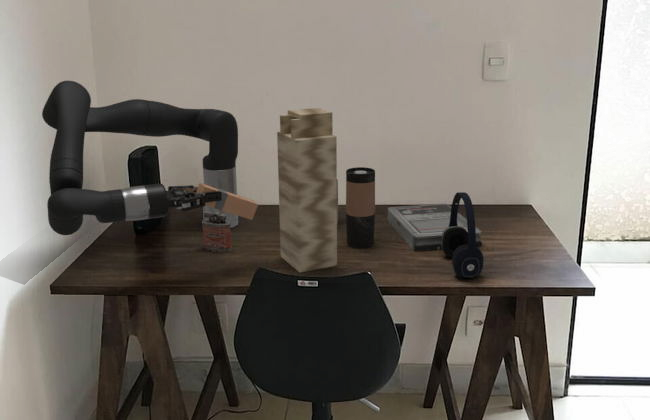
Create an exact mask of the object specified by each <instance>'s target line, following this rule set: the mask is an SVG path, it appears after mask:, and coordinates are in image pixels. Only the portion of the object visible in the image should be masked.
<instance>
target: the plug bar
mask: <svg viewBox="0 0 650 420" xmlns="http://www.w3.org/2000/svg"><path fill="white" fill-rule="evenodd" d="M197 187H198V188H197V191H196V193H202V192H204V193H205V192H214V191H220V192H221V194H222V200H221V201H215V202H207V203H206V204H205V205H206V206H209V207H212V208H215V209H219V210H222V211H225V212H228V213H231V214H234V215H238V217H241V218H245V219H248V220H251V221H253V219H254V217H255V213H256V211H257V209H258V207H259V204H258V203H257V202H256V201H254V200H253V199H250V198H247V197H243V196H240V195H238V194H237V195H235V194H232V193H229V192H226V191H224V190H222V189H219V188H216V187H215V188H214V187H211V186H208V185H205V184H204V183H201V182H199V184H198V186H197ZM197 201H200V199H198V200H197Z"/></svg>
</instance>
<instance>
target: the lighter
mask: <svg viewBox="0 0 650 420" xmlns="http://www.w3.org/2000/svg"><path fill="white" fill-rule="evenodd" d="M204 217H205V218H209V220H204V219H203V220H201V225H202V238H203V245H202V247H203V248H202V249H203V250H204V249H205V251H209V250H211V251H210V252H216V251H217V253H231V252H232V251H233V246H232V234H231V228H230V226H231V222H228V221H226V215H225V214H220V212H216V213H211V212H205V213H204ZM212 218H213V220H212Z"/></svg>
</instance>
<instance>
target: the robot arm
mask: <svg viewBox="0 0 650 420" xmlns="http://www.w3.org/2000/svg"><path fill="white" fill-rule="evenodd" d="M91 103H92V98H91V94H90V92H89V91H88V89H86V87H85V86H84V85H83V84H80V82H76V81H73V80H63V81H60V82H59V83H57V84H56V85H55V86H54V87H53V89H51V92H50V94H49V96H48V98H47V100H46V101H45V104H44V106H43V108H42V113H41V114H42V115H41V116H42V119H43V121H44V123H46V124H47V126H49V127H50V128H53V129H54V130H56V133H55V138H54V142H53V145H52V149H51V154H50V160H49V172H48V173H49V178H48V179H49V180H48V181H49V190H50V196H49V197H48V198H47V199H48V200H47V204H46V205H47V218H48V224H49V226H50V228H51V229H52V231H54V232H55V233H56V234H58V235H61V236H69V235H73V234H75V233H76V232H77V231H79V230H80V229H81V227H82V225H83V222H84V216H95V218H96V221H98V222H99V223H101V224H110V223H118V222H126V221H129V222H130V221H133V222H134V221H141V220H142V221H143V220H151V219H158V218H164V217H166V216H168V213H169V209H170V208H171V209H175V210H179V209H180V210H181V211H182V212H186V211H187V212H188V211H191V210H195V209H199V208H202V215H203V216H202V217H203V220H209V218H205V217H204V213H205V212H211V213H216V212H220V214H225V215H226V221H228V222H231V226H230V229H232V228H235V227H237V226H238V225H239V216H238V215H234V214H231V213H228V212H225V211H222V210H219V209H215V208H212V207H209V206H206V205H205V204H206V203H207V202H215V201H221V200H222V194H221V192H220V191H214V192H205V193H204V192H202V193H196V191H197V188H198V186H194V185H193V184H192V185H191V184H190V185H175V186H174V185H172V186H171V185H169V186H168V187H167V190H166V187H165V186H164V184H163V183H154V184H143V185H135V186H130V187H125V188H120V189H111V190H103V191H100V190H94V189H87V188H86V189H85V188H83V184H84V150H85V149H84V148H85V134H86V133H111V134H126V135H127V134H128V135H135V136H143V137H153V138H155V137H156V138H159V137H161V138H162V137H170V136H185V137H190V138H191V137H192V138H196V139H199V140H202V141H205V142H209V144H208V146H209V147H208V148H209V149H208V154H207V155H205V156H203V158H202V173H203V175H202V177H203V184H205V185H208V186H211V187H214V188H215V187H216V188H219V189H222V190H224V191H226V192H229V193H232V194H235V195H238V188H237V187H238V185H237V169H236V168H237V167H236V165H237V164H236V163H237V158H238V154H239V126H238V122H237V120H236V117H235V116H234V115H233V114H232V113H231V112H228V111H225V110H221V109H220V110H219V109H215V108H185V107H184V108H183V107H178V106H175V105H172V104H168V103H164V102H161V101H156V100H148V99H141V98H138V99H137V98H135V99H132V98H131V99H129V100H124V101H120V102H116V103H112V104H110V105H106V106H100V107H99V106H98V107H97V106H96V107H95V106H94V107H92V106H91ZM198 199H200V201H197V200H198ZM212 220H213V218H212Z"/></svg>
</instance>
